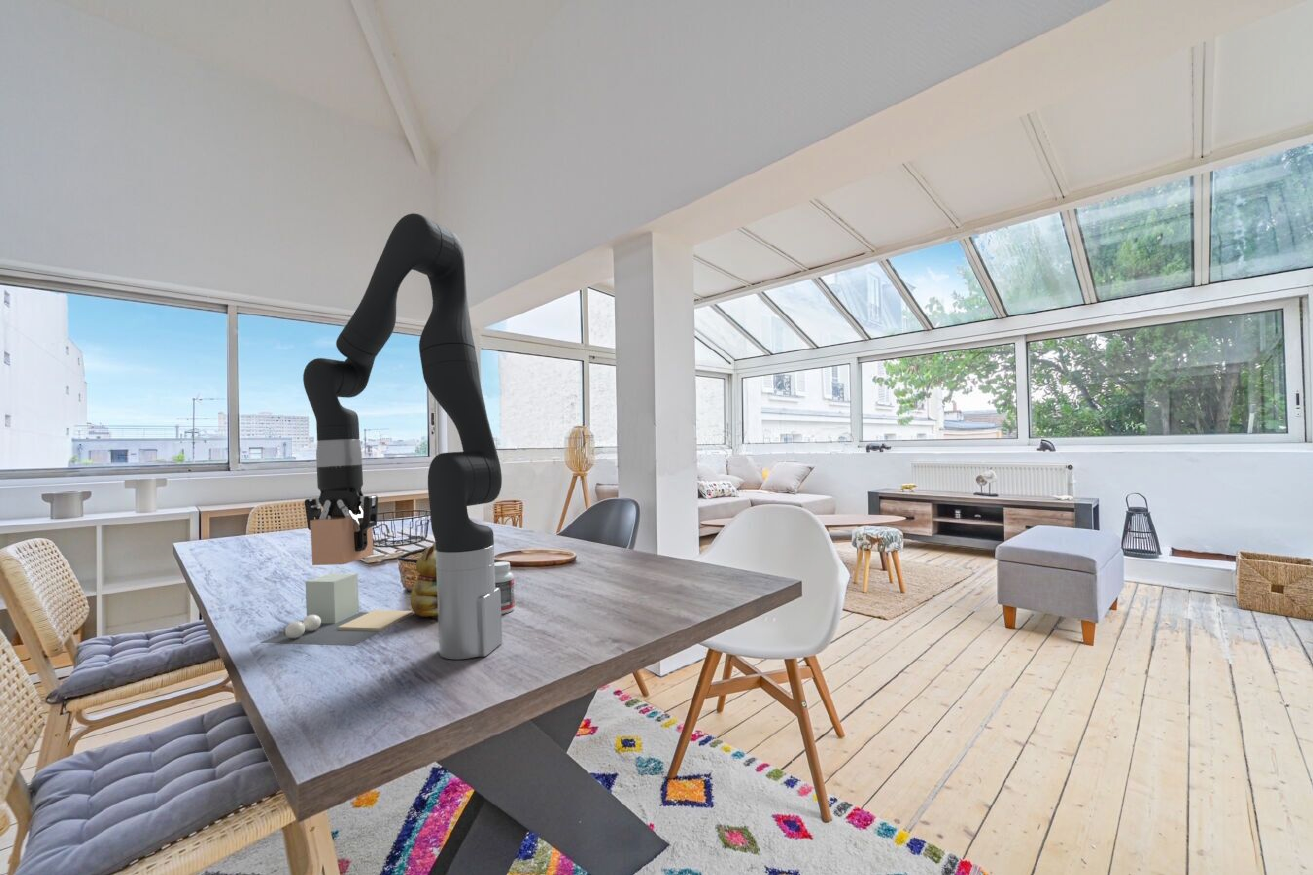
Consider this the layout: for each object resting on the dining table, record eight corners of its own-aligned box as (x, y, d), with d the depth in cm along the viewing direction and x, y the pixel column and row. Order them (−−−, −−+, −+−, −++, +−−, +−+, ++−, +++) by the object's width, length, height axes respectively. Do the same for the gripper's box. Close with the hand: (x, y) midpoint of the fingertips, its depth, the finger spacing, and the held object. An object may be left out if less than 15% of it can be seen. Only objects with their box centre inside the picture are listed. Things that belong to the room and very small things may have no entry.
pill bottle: (518, 611, 109) (516, 563, 109) (492, 617, 106) (490, 568, 106) (510, 605, 114) (508, 559, 114) (484, 610, 111) (482, 563, 111)
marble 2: (325, 628, 102) (324, 612, 102) (312, 634, 99) (312, 617, 99) (311, 628, 103) (311, 612, 103) (298, 633, 100) (298, 617, 100)
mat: (415, 615, 109) (414, 611, 109) (354, 647, 92) (354, 642, 92) (333, 613, 113) (333, 609, 113) (260, 644, 96) (260, 639, 96)
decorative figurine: (443, 623, 104) (440, 546, 104) (401, 624, 104) (398, 547, 104) (461, 607, 113) (459, 537, 113) (423, 609, 113) (420, 538, 113)
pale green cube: (358, 612, 111) (357, 573, 111) (335, 623, 105) (333, 581, 105) (331, 612, 112) (330, 573, 112) (307, 622, 106) (305, 581, 106)
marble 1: (309, 635, 98) (308, 619, 98) (295, 641, 95) (295, 624, 95) (295, 635, 99) (294, 618, 99) (281, 641, 96) (280, 624, 96)
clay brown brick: (373, 554, 105) (371, 513, 106) (343, 564, 97) (341, 519, 97) (344, 555, 106) (342, 514, 106) (312, 565, 98) (310, 520, 98)
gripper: (386, 461, 105) (390, 546, 105) (321, 465, 107) (324, 548, 107) (360, 462, 97) (364, 554, 97) (290, 466, 99) (294, 556, 99)
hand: (343, 551), depth 102 cm, fingers closed on clay brown brick, 6 cm apart
